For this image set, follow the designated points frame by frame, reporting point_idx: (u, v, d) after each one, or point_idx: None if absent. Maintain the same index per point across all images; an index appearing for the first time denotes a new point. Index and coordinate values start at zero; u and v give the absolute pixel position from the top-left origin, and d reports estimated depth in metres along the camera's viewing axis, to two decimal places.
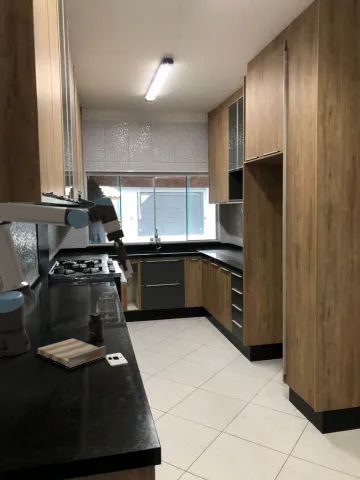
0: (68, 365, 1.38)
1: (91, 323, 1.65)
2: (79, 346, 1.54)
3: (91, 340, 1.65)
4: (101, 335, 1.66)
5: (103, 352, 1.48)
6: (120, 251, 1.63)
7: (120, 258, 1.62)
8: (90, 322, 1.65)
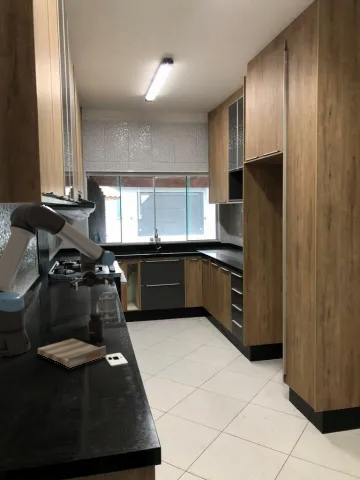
0: (68, 365, 1.38)
1: (91, 323, 1.65)
2: (79, 346, 1.54)
3: (91, 340, 1.65)
4: (101, 335, 1.66)
5: (103, 352, 1.48)
6: None
7: None
8: (90, 322, 1.65)
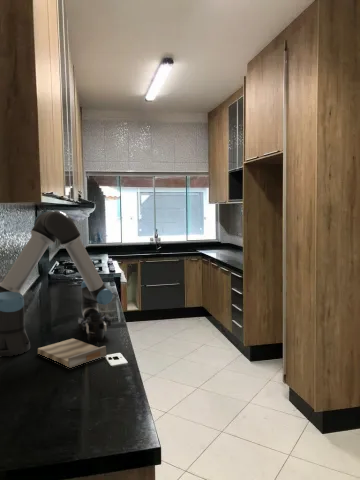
0: (68, 365, 1.38)
1: (91, 323, 1.65)
2: (79, 346, 1.54)
3: (91, 340, 1.65)
4: (101, 335, 1.66)
5: (103, 352, 1.48)
6: None
7: None
8: (90, 322, 1.65)
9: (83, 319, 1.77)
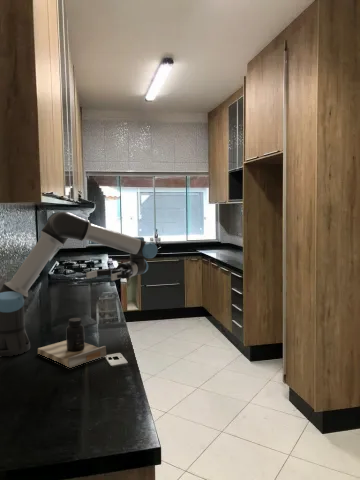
0: (68, 365, 1.38)
1: (66, 328, 1.48)
2: None
3: None
4: (75, 345, 1.47)
5: (103, 352, 1.48)
6: None
7: (129, 273, 1.73)
8: (67, 327, 1.49)
9: (111, 270, 1.84)
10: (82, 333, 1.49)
